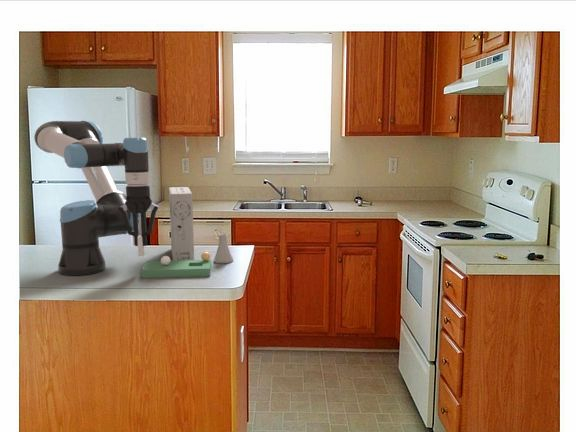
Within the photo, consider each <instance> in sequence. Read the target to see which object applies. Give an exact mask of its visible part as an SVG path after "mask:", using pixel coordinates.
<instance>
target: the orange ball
mask: <svg viewBox="0 0 576 432" xmlns="http://www.w3.org/2000/svg"><path fill="white" fill-rule="evenodd" d="M211 256H212V255H211V254H210V252H208V251H204V252H202V253H201V255H200V259H201V260H204V261H208V260H211Z"/></svg>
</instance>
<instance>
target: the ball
mask: <svg viewBox="0 0 576 432" xmlns="http://www.w3.org/2000/svg"><path fill="white" fill-rule="evenodd" d="M160 261H161V263H162V264H163V265H168V264H169V263H170V261H171V258H170V257H169V256H168V255H164V256H162V257H160Z"/></svg>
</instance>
